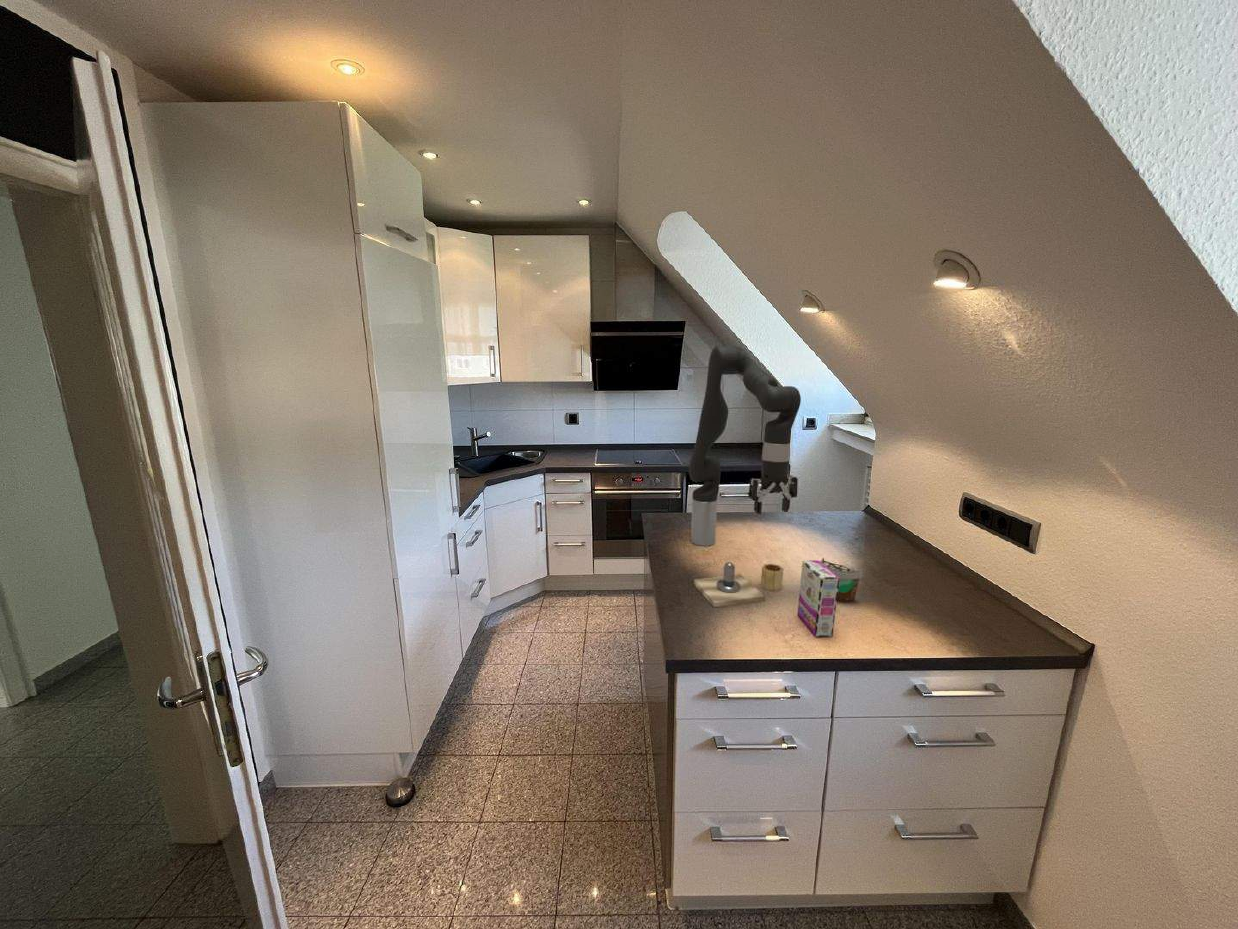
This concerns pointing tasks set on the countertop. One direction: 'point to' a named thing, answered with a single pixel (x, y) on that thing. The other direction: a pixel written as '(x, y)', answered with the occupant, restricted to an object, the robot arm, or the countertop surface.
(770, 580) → the collar
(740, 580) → the board
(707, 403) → the robot arm
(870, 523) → the countertop surface
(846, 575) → the food container
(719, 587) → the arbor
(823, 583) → the candy bar box
